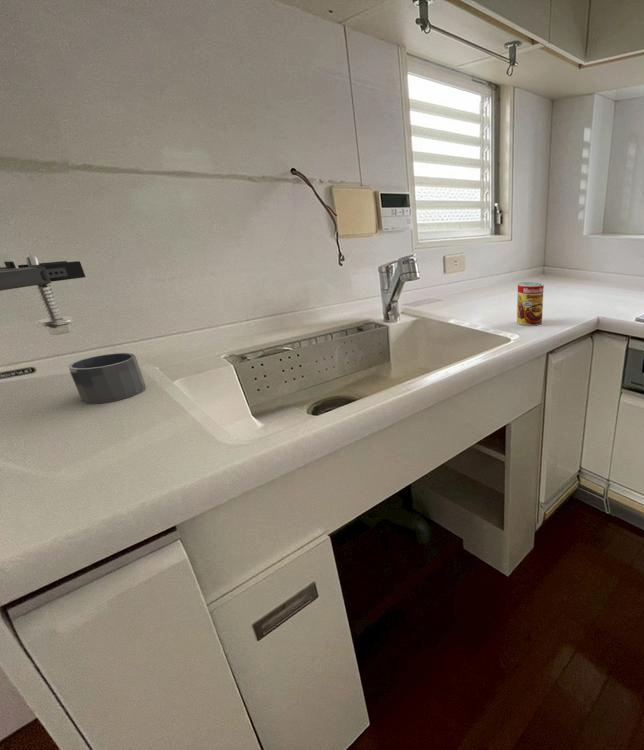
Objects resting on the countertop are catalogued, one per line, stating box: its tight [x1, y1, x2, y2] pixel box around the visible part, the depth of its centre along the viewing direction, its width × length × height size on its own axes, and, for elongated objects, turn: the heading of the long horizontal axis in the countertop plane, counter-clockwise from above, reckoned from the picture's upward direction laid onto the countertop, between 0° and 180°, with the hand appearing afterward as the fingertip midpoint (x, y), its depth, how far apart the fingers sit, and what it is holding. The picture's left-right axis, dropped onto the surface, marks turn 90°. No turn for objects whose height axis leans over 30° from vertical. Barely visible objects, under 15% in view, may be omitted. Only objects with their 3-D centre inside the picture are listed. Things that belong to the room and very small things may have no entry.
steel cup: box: [67, 352, 147, 405], centre depth 73 cm, size 9×9×6 cm
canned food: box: [516, 281, 545, 327], centre depth 124 cm, size 8×8×12 cm
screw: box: [24, 253, 78, 336], centre depth 66 cm, size 13×5×5 cm
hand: (74, 269), depth 70 cm, fingers closed on screw, 2 cm apart
